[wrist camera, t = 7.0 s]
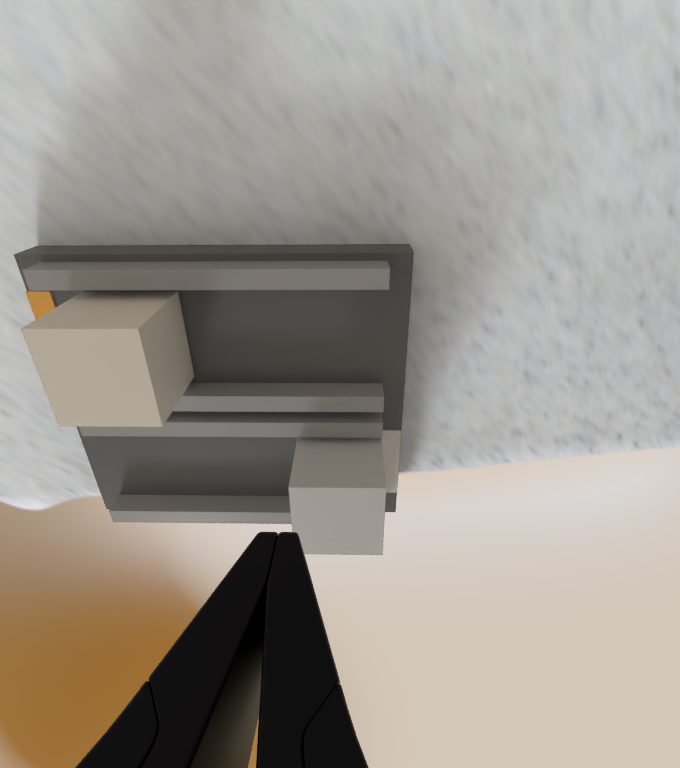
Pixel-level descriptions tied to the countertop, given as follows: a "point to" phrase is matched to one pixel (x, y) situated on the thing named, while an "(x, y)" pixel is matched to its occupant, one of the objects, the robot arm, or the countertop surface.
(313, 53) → the countertop surface
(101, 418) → the beige cube
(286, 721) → the robot arm
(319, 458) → the light grey cube
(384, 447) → the switch board
